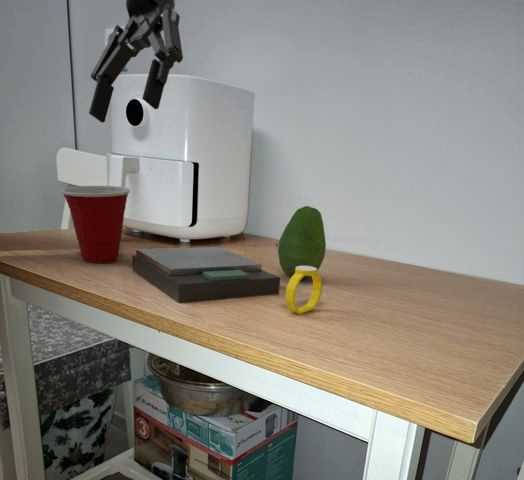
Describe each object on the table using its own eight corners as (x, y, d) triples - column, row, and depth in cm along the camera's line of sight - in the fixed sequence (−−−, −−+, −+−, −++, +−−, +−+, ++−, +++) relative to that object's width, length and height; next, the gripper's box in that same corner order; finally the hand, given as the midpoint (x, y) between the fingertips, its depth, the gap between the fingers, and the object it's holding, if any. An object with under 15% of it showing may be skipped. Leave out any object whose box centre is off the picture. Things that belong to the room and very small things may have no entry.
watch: (308, 305, 68) (313, 263, 65) (323, 310, 66) (329, 267, 64) (279, 312, 64) (283, 267, 61) (295, 318, 62) (300, 272, 60)
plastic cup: (53, 256, 83) (47, 183, 79) (110, 251, 91) (107, 184, 86) (85, 269, 77) (81, 190, 72) (144, 263, 84) (143, 190, 80)
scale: (132, 270, 79) (131, 248, 77) (220, 266, 87) (220, 246, 86) (178, 302, 64) (179, 276, 63) (278, 293, 72) (281, 270, 71)
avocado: (330, 282, 82) (340, 209, 77) (292, 285, 78) (300, 208, 73) (303, 272, 88) (310, 203, 83) (266, 274, 84) (272, 202, 79)
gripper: (223, -11, 77) (193, 112, 75) (123, 30, 92) (94, 134, 89) (192, -52, 71) (157, 80, 69) (89, -1, 85) (58, 109, 83)
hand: (122, 111), depth 79 cm, fingers open, 13 cm apart
